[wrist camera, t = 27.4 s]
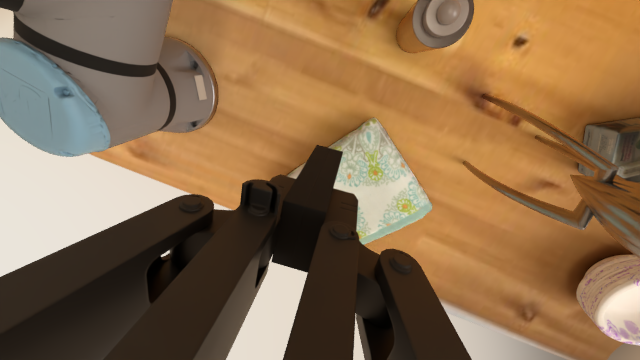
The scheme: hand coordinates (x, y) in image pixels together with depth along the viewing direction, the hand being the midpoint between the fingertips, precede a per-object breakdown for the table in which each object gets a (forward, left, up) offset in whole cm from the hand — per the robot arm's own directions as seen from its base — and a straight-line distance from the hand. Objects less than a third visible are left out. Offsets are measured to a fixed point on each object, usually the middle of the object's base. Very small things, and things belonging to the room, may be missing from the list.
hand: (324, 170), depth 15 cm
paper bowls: (+53, -18, -31) cm, 64 cm away
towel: (+4, -15, -31) cm, 34 cm away
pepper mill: (+6, +11, -30) cm, 33 cm away
